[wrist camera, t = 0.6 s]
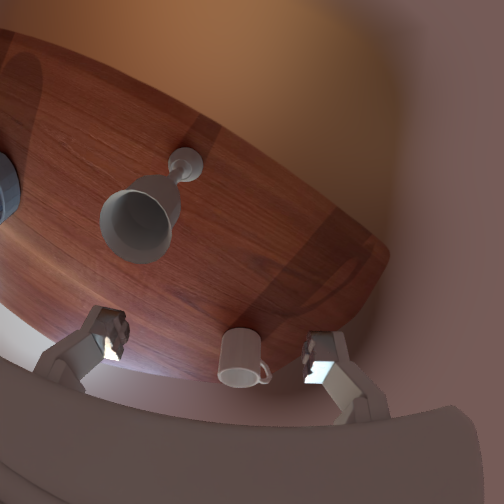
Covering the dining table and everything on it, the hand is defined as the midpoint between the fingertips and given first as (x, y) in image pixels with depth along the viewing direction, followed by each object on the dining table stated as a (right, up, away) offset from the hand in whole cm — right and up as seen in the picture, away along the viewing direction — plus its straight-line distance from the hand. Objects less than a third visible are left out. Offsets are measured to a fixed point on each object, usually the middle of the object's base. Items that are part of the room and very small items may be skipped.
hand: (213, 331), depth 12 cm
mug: (+1, -16, +46) cm, 49 cm away
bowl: (-49, +17, +25) cm, 58 cm away
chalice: (-8, +16, +25) cm, 31 cm away
